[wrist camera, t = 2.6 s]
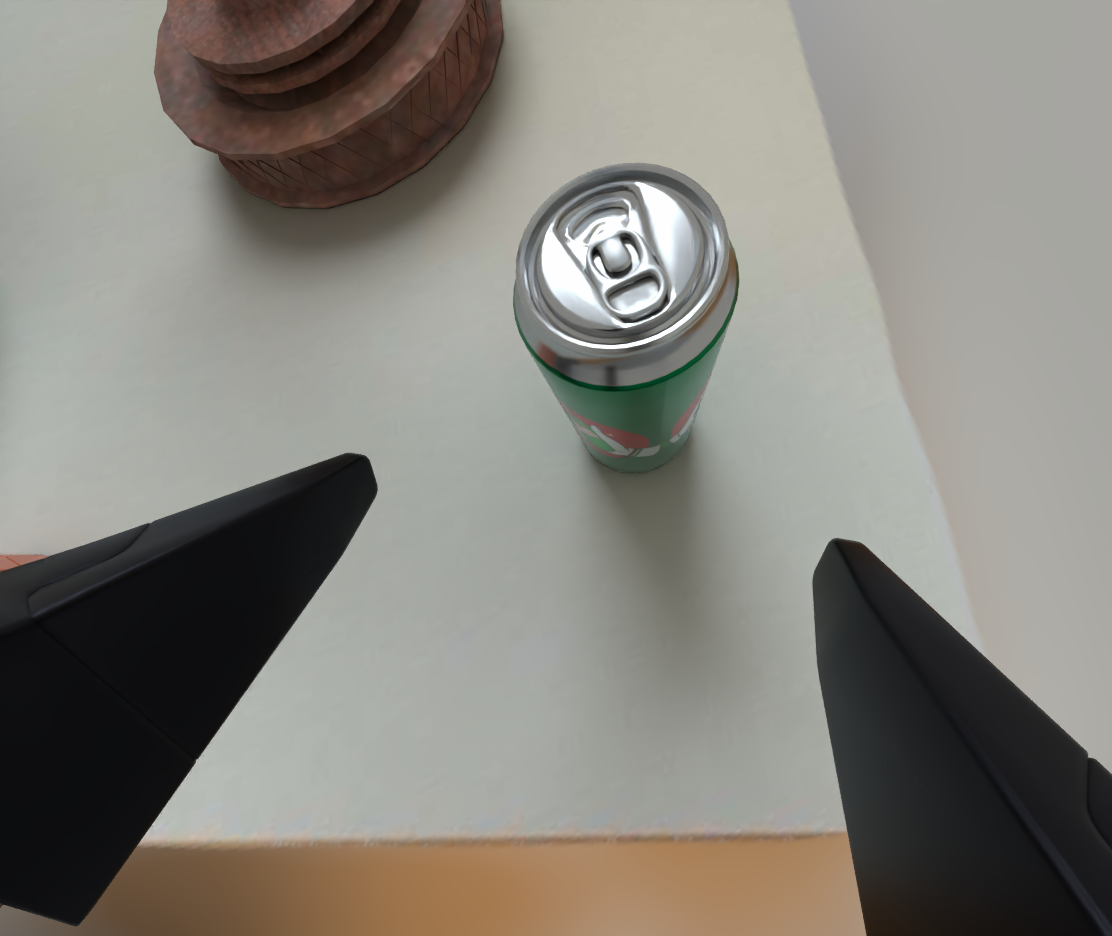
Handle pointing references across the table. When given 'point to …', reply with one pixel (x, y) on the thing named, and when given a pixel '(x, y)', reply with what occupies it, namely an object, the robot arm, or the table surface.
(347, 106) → the rusty bell weight
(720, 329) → the soda can
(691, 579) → the table surface
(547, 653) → the table surface
